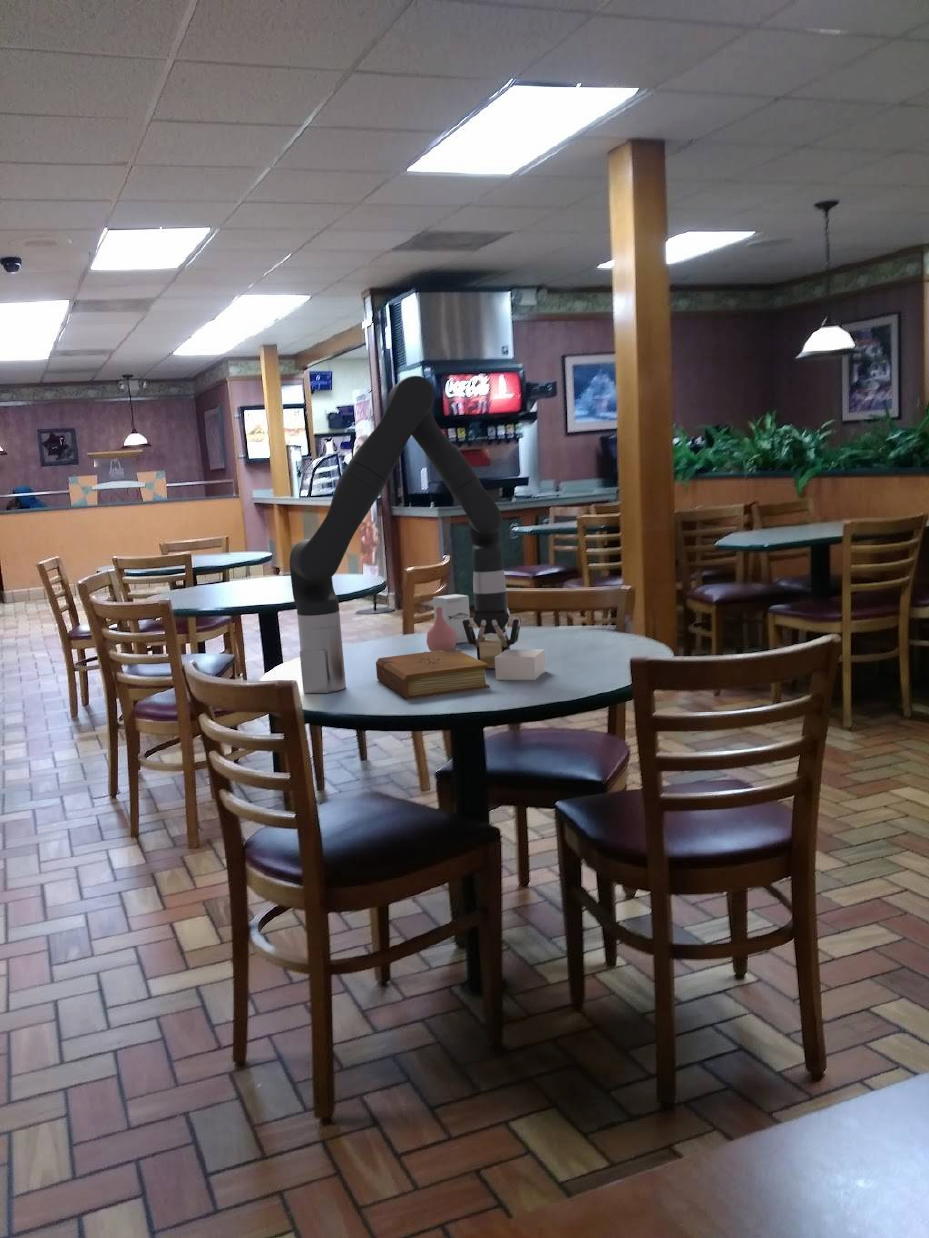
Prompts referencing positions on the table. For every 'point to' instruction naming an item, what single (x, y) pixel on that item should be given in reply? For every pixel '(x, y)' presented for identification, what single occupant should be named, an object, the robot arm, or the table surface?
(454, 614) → the supplement box
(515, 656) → the plinth
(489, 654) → the oak block
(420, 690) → the diary
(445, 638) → the pink vase
